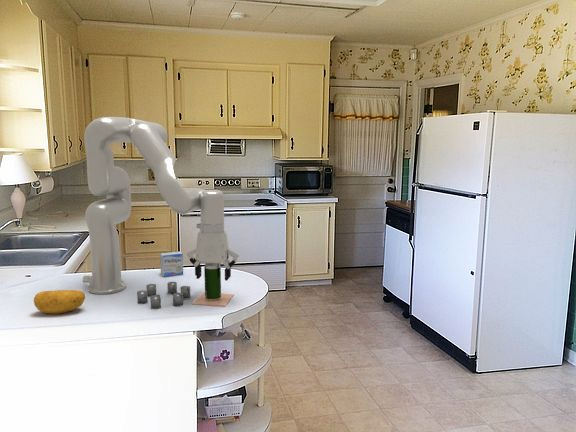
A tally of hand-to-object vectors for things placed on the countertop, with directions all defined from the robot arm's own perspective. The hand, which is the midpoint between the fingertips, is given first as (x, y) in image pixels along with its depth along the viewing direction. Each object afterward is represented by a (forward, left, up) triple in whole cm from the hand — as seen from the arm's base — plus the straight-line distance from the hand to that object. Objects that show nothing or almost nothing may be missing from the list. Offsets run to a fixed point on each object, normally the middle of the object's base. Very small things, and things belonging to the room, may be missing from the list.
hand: (212, 278), depth 161 cm
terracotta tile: (0, 0, -7) cm, 7 cm away
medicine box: (-24, +24, -8) cm, 35 cm away
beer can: (0, 0, -7) cm, 7 cm away
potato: (-43, -19, -8) cm, 47 cm away
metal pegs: (-16, -3, -7) cm, 18 cm away
